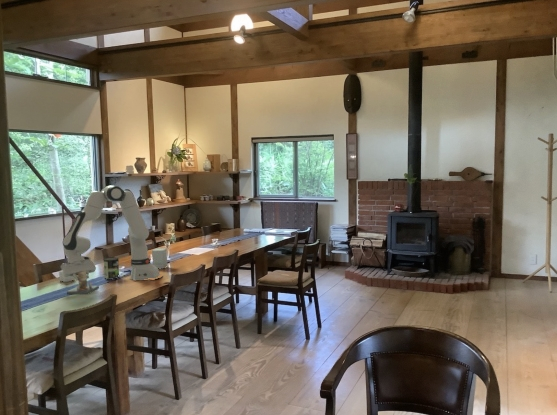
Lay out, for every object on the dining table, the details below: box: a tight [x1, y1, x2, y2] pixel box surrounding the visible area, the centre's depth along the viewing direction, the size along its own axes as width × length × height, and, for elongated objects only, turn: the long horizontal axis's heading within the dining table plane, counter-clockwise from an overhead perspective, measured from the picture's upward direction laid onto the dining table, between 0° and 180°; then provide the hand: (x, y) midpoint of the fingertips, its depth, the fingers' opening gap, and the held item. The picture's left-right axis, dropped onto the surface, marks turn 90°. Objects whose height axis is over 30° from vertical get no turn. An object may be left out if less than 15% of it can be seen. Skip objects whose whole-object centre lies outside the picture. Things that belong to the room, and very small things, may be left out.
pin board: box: [66, 281, 99, 295], centre depth 303 cm, size 14×14×5 cm
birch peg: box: [77, 271, 88, 288], centre depth 302 cm, size 5×5×10 cm
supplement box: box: [151, 248, 168, 269], centre depth 364 cm, size 9×9×15 cm
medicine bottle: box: [58, 270, 75, 283], centre depth 330 cm, size 7×7×12 cm
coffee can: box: [103, 257, 120, 280], centre depth 336 cm, size 10×10×14 cm
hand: (82, 279), depth 302 cm, fingers closed on birch peg, 5 cm apart
